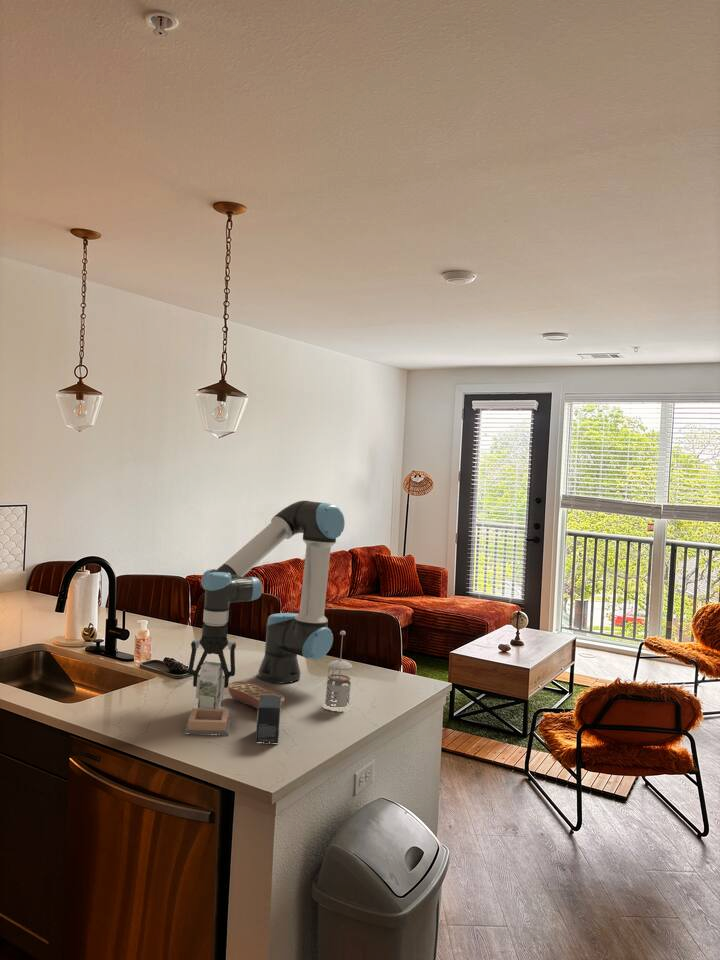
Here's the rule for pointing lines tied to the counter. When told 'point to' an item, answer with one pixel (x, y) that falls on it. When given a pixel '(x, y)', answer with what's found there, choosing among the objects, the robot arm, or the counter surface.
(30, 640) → the counter surface
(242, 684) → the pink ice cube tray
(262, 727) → the small box
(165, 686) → the counter surface
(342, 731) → the counter surface
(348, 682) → the french press
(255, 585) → the robot arm
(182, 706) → the counter surface
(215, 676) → the syrup box
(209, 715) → the pink square open tray
